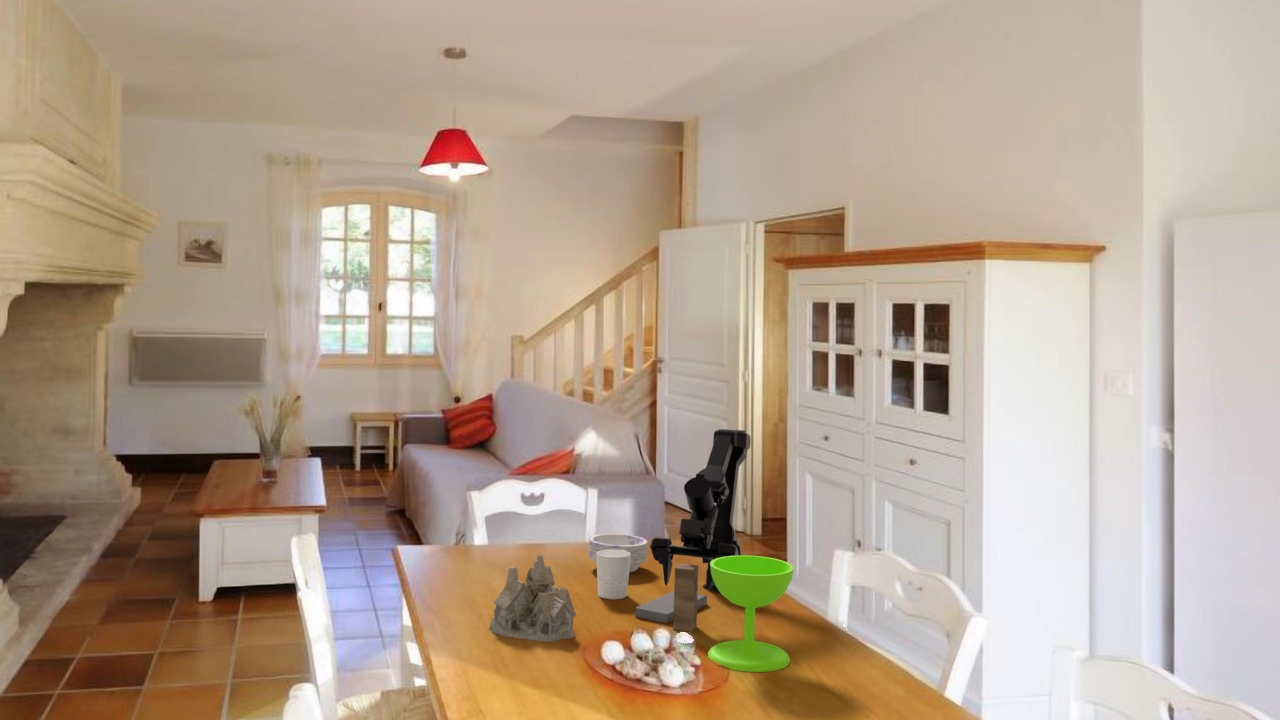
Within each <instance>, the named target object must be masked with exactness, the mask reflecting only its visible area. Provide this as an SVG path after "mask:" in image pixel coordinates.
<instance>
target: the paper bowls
mask: <svg viewBox="0 0 1280 720" xmlns="http://www.w3.org/2000/svg"><path fill="white" fill-rule="evenodd" d="M609 549H615V550H624V551H628V552H630V554H631V555H630V569H629V574H631V573H633V572H634V573H635V572H636V571H637V570H638V569H639V567H640V565H641V564H643V563H645V562H647V561H648V555H649V553H648V551H649V541H648V540H647V539H645V538H644V537H640V536H637V535H630V534H622V533H621V534H620V533H603V534H596V535H593V536H591V537H590V538H589V539H588V558H589V559H590V560H592V561H593V562H595V564H596V566H597V552H598V551H601V550H609Z"/></svg>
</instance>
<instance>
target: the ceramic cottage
mask: <svg viewBox="0 0 1280 720" xmlns="http://www.w3.org/2000/svg"><path fill="white" fill-rule="evenodd" d="M536 555H537V556H536V557H537V558H536V559H535V560H534V561H533V566H530V567H529V568H528V571H527V573H526V574H527V575H526V578H525V582H523V581H520V580H519V572H518V568H517V567H516V566H510V567H508V572H507V578H506V583H505V586H504V588H503V589H502V590H501V592H500V593H499V595H498V596H497V597H496V599H495V600H493V604H495V608H494V610H493V613H494V614H493V617H492V619H490V623H489V631H490V632H491V633H493V634H496V635H497V636H498V635H499V636H501V637H506V638H507V637H508V638H516V639H524V640H525V639H526V640H531V641H532V640H533V641H536V642H537V641H539V642H557V641H561V640H567V639H568V640H570V639H573V638H574V637H576V632H575V630H574V628H573V625H574V618H575V617H576V616H577V614H576V613H577V612H576V611H575V607H574V604H573V601H572V598H571V594H570V592H569V589H568V588H565V587H564V586H563V587H560V588H558V587H557V586H555V584H556V582H555V580H554V575H553V571H552V568H551V566H550V565H546V566H545V560H544V557H543V556H544V555H543V554H536Z"/></svg>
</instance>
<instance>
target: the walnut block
mask: <svg viewBox="0 0 1280 720" xmlns="http://www.w3.org/2000/svg"><path fill="white" fill-rule="evenodd" d="M698 588H699V565H698V564H697V565H696V564H686V563H679V564H677V566H675V568H674V588H673V589H674V590H673V591H674V618H673V621H672V625H673V626H672V630H674V631H684V632H689V633H692V632H693V631H694V630H695V629H696V627H697V626H698V625H697V622H698V621H697V619H698V609H697V594H699V593H698V591H699V589H698Z"/></svg>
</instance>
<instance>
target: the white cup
mask: <svg viewBox="0 0 1280 720" xmlns="http://www.w3.org/2000/svg"><path fill="white" fill-rule="evenodd" d="M630 555H631V554H630V552H628V551H624V550H615V549H609V550H601V551H598V552H597V565H596V577H597V578H596V581H597V582H596V583H597V596H598V597H599V598H602V599H606V600H621V599H625V598H626V597H627V596H628V588H629V587H628V585H629V577H630V573H629V569H630Z"/></svg>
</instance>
